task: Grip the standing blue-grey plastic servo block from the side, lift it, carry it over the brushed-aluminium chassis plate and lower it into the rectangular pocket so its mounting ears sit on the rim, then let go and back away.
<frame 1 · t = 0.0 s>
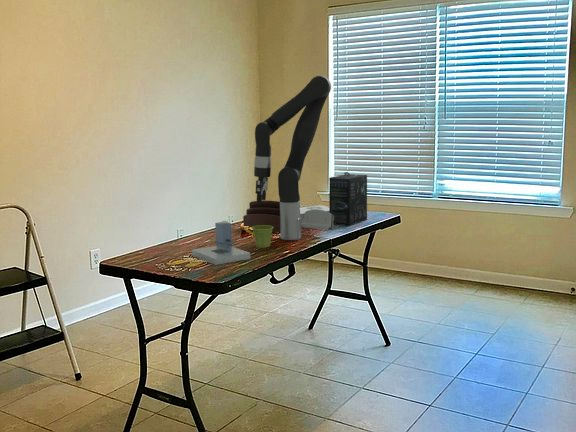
hand: (261, 201, 292), 17 cm above the table, tool pointing down, fingers open, 8 cm apart
white rounded slab: (303, 219, 344), on the table
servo: (224, 248, 275), on the table, touching chassis plate
headset box: (348, 222, 331), on the table
plant pot: (263, 247, 277), on the table
chassis plate: (220, 257, 259), on the table
letter holder: (265, 230, 315), on the table
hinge: (317, 227, 318), on the table
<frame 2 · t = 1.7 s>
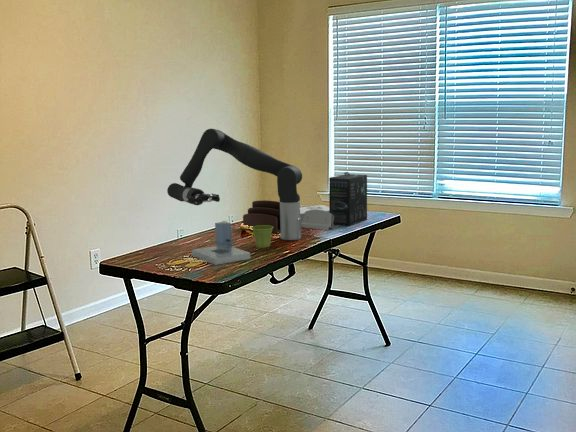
hand: (210, 200, 281), 20 cm above the table, tool horizontal, fingers open, 8 cm apart
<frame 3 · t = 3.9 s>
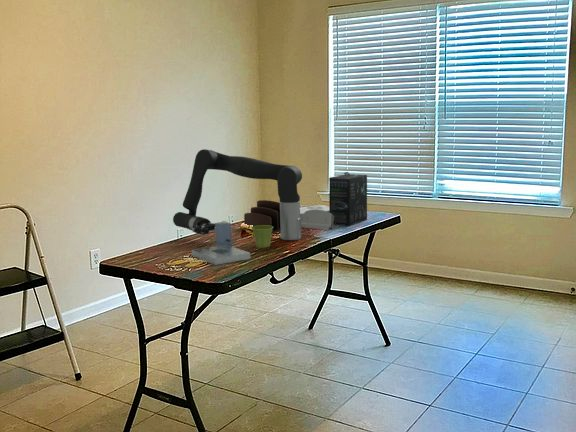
hand: (216, 230, 279), 7 cm above the table, tool horizontal, fingers open, 8 cm apart
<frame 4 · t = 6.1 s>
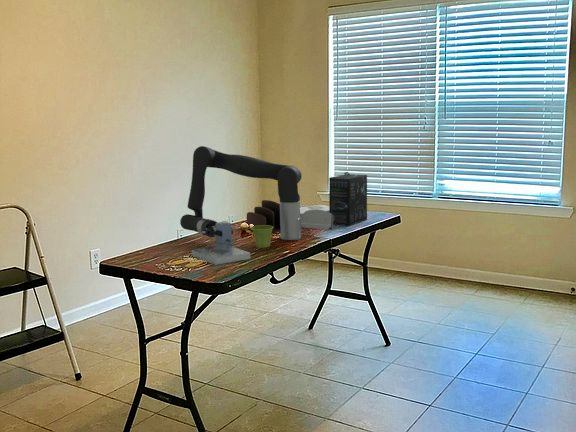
hand: (226, 233, 272), 7 cm above the table, tool horizontal, fingers closed on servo, 4 cm apart
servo: (224, 248, 275), on the table, touching chassis plate, gripper
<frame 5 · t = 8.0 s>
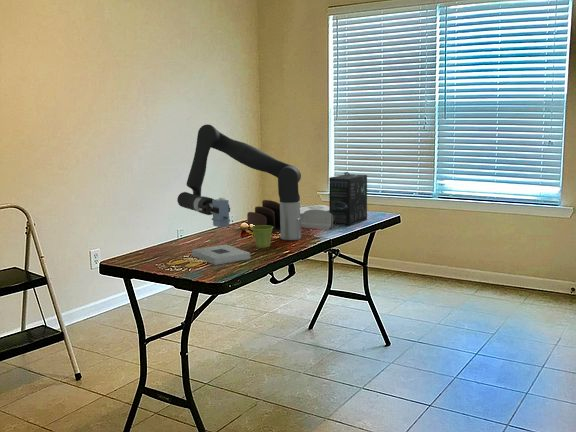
hand: (223, 210, 264), 18 cm above the table, tool horizontal, fingers closed on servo, 4 cm apart
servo: (221, 225, 267), point 11 cm above the table, touching gripper
when the fingers open (9 cm above the table, at t = 10.3 s): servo drops 1 cm, resting on chassis plate.
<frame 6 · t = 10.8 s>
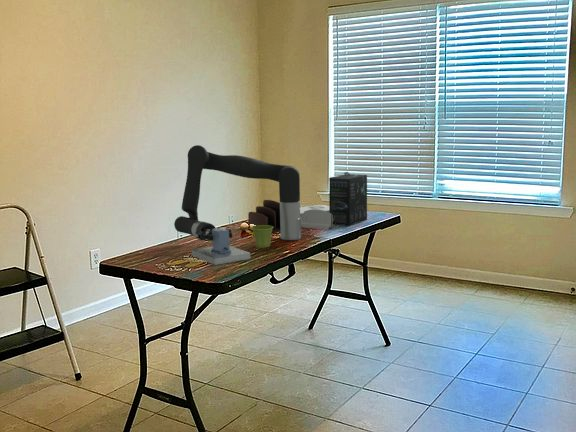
hand: (222, 236, 256), 9 cm above the table, tool horizontal, fingers open, 8 cm apart
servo: (221, 256, 259), resting on chassis plate
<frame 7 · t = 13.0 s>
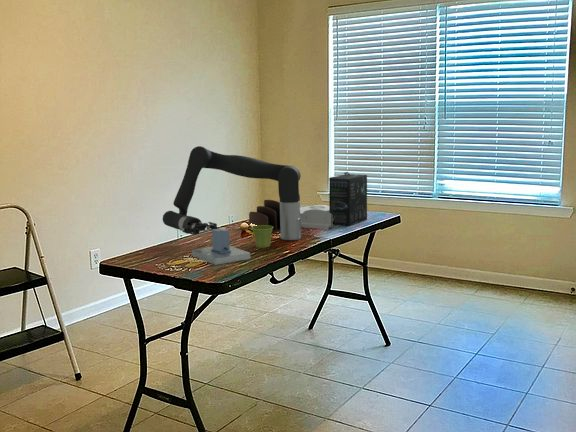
hand: (207, 230, 266), 10 cm above the table, tool horizontal, fingers open, 8 cm apart
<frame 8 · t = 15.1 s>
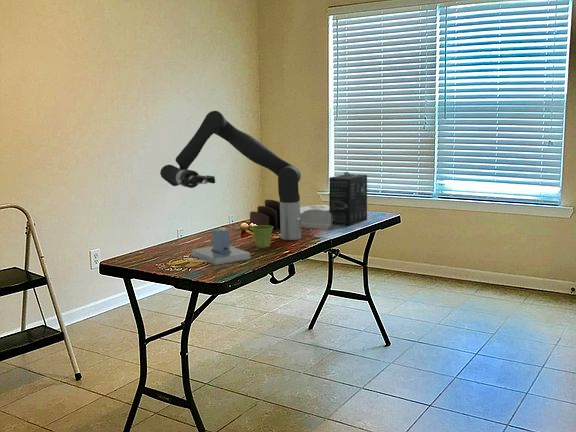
hand: (205, 181, 263), 30 cm above the table, tool horizontal, fingers open, 8 cm apart
at the end: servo 0.3 cm off-centre on the chassis plate, point 0.3 cm above the chassis plate's base; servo tilted 0°; the gripper is holding nothing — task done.
